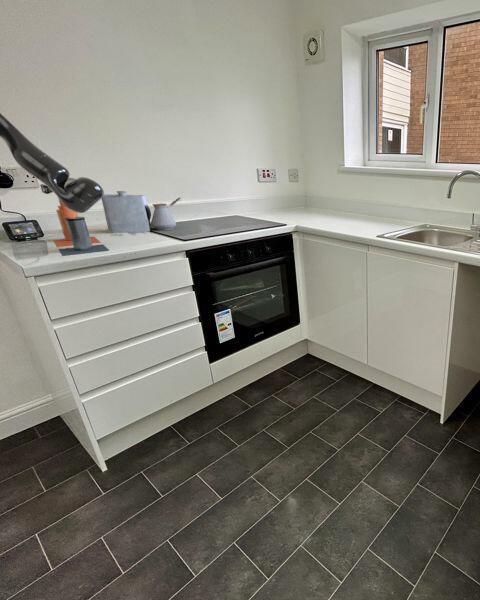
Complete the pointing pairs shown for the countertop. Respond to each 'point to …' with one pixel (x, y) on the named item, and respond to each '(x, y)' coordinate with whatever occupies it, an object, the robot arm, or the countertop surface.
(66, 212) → the terracotta bottle
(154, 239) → the countertop surface
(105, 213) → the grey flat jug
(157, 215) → the coffee pot
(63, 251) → the grey mat
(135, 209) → the hip flask
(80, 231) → the steel canister
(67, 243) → the terracotta mat
